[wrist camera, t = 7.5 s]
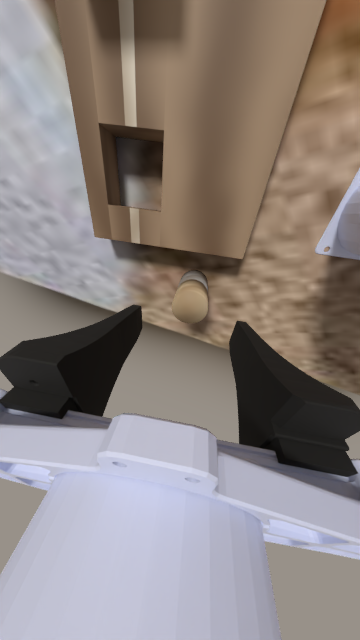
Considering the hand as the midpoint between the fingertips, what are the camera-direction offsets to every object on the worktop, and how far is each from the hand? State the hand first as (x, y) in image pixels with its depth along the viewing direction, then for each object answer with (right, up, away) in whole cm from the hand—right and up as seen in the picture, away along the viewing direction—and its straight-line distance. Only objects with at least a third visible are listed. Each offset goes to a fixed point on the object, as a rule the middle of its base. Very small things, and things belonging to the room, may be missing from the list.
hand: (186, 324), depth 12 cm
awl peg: (+1, +5, +7) cm, 8 cm away
